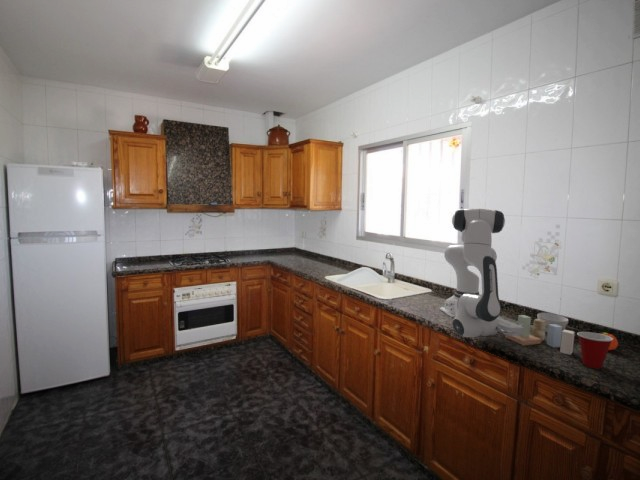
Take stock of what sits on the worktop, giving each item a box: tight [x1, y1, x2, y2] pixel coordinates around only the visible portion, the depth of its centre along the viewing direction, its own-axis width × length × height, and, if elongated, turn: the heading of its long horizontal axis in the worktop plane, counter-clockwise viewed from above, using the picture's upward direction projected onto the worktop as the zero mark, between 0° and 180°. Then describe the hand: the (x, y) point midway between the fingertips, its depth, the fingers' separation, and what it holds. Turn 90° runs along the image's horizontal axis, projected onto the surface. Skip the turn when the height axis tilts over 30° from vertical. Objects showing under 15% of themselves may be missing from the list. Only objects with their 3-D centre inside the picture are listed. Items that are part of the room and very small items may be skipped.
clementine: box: [598, 332, 619, 351], centre depth 147 cm, size 8×7×7 cm
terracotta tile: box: [504, 333, 542, 346], centre depth 155 cm, size 10×10×2 cm
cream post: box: [559, 328, 575, 356], centre depth 142 cm, size 4×4×9 cm
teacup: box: [537, 312, 569, 334], centre depth 166 cm, size 15×12×8 cm
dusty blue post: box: [546, 324, 562, 348], centre depth 149 cm, size 4×4×9 cm
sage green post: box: [516, 314, 532, 338], centre depth 154 cm, size 4×4×9 cm
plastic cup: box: [576, 331, 613, 370], centre depth 131 cm, size 11×11×12 cm
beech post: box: [531, 318, 546, 342], centre depth 156 cm, size 4×4×9 cm
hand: (513, 322), depth 152 cm, fingers open, 8 cm apart
